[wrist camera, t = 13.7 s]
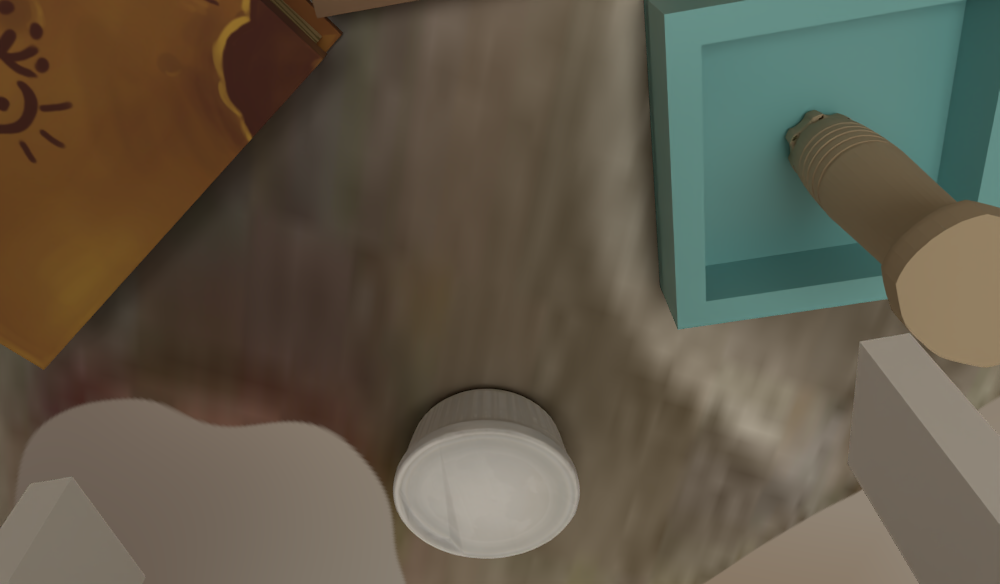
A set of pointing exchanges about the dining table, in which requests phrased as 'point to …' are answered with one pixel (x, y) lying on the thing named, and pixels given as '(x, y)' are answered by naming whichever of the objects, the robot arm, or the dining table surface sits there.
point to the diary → (124, 136)
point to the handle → (908, 234)
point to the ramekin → (486, 476)
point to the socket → (349, 6)
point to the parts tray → (782, 105)
